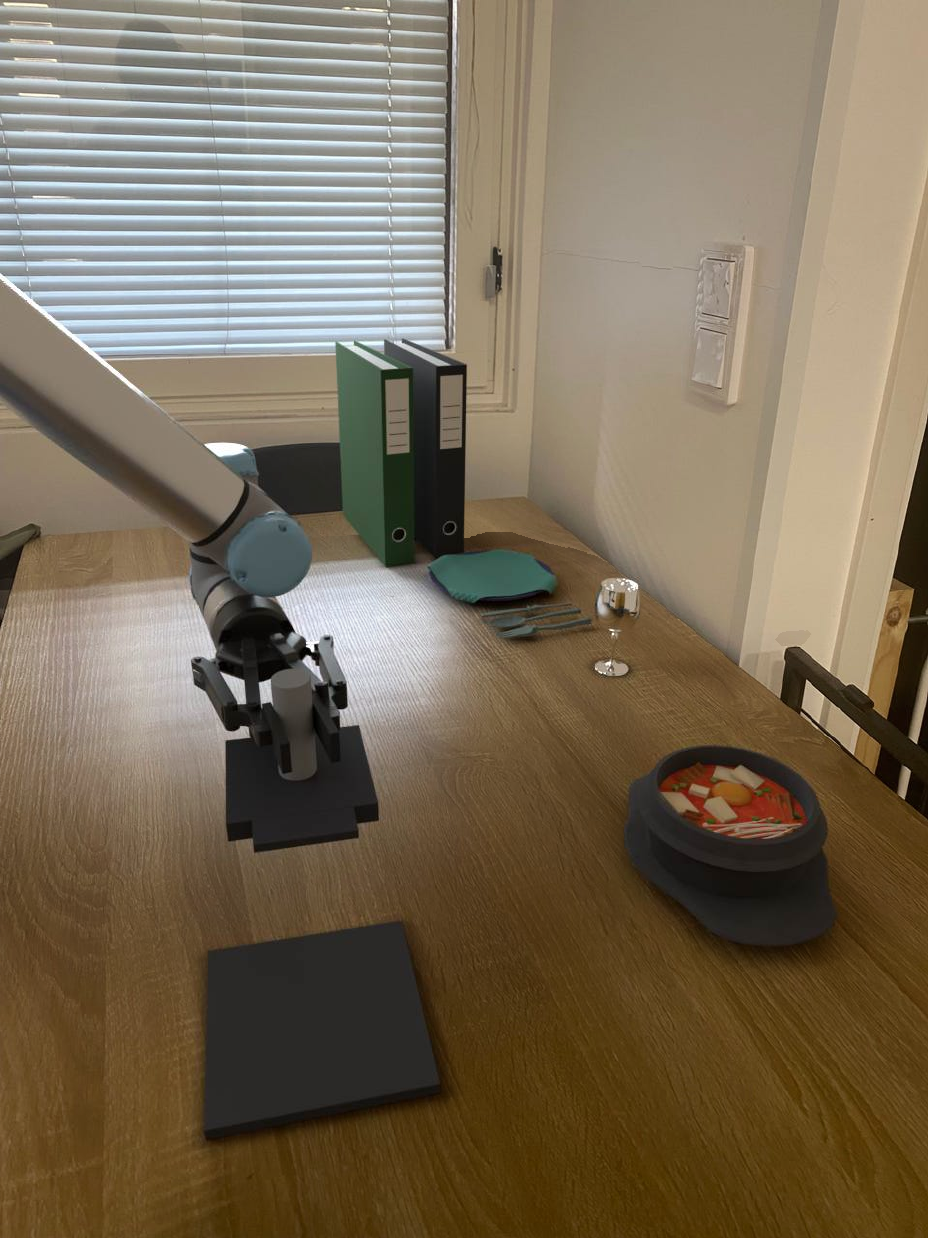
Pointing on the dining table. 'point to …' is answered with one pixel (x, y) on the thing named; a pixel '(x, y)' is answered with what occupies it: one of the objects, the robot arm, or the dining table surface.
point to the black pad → (313, 1029)
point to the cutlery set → (501, 586)
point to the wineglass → (616, 617)
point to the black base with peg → (297, 779)
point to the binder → (402, 448)
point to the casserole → (734, 844)
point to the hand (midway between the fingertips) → (310, 752)
